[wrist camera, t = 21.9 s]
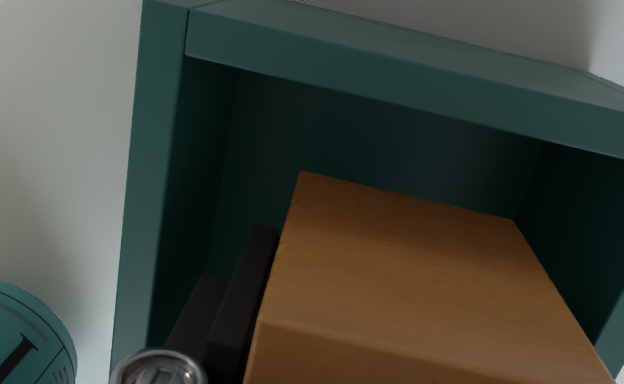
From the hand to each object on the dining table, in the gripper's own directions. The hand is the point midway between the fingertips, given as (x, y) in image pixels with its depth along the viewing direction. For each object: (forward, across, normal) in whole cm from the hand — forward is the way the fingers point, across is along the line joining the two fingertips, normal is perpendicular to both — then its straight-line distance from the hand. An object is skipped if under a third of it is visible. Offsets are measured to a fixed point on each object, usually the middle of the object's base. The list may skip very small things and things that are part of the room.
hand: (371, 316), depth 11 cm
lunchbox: (+6, 0, +1) cm, 7 cm away
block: (0, 0, 0) cm, 0 cm away
